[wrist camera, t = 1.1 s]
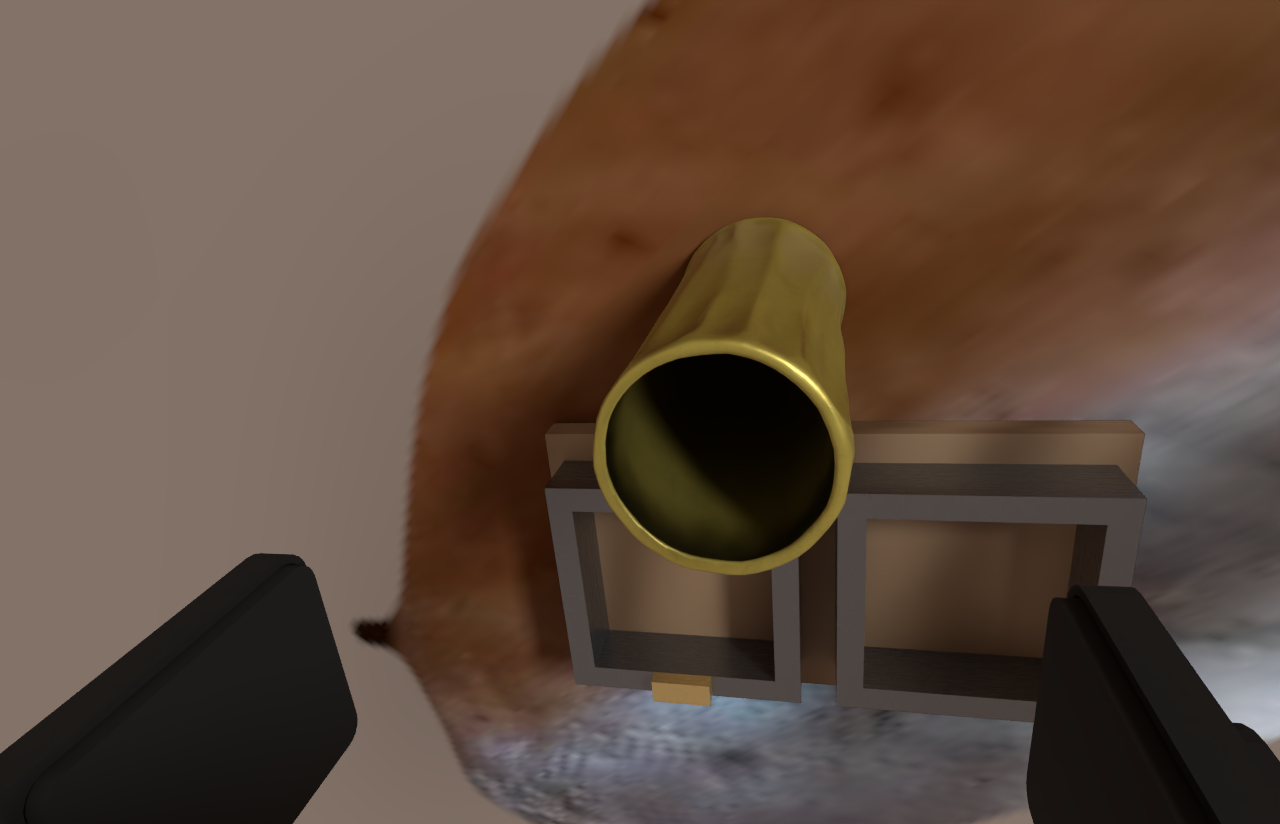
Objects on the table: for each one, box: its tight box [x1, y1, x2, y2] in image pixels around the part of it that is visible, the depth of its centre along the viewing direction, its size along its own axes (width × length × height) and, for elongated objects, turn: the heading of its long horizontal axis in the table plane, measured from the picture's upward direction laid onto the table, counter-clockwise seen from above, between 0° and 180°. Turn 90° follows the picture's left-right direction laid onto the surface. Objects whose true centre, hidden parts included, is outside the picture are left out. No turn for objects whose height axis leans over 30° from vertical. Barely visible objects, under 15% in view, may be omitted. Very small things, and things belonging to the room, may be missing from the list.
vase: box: [593, 217, 855, 575], centre depth 21 cm, size 6×6×14 cm
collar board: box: [545, 420, 1145, 685], centre depth 30 cm, size 22×12×1 cm, turn 95°
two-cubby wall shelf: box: [544, 460, 1147, 723], centre depth 28 cm, size 21×10×3 cm, turn 95°
